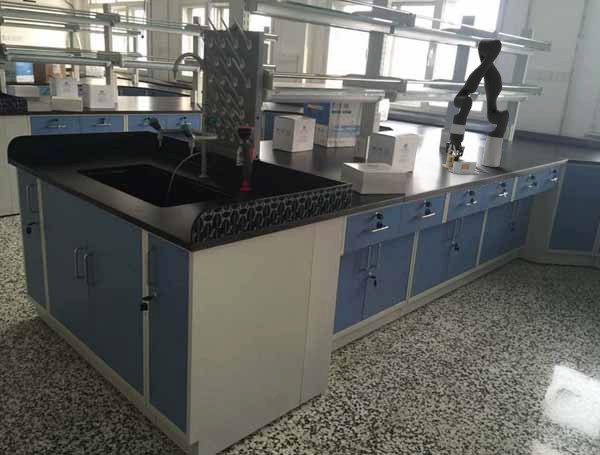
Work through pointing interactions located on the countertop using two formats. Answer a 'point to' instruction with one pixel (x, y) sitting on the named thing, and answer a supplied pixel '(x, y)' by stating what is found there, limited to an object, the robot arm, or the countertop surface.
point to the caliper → (477, 167)
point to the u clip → (452, 157)
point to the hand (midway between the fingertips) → (452, 162)
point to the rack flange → (464, 167)
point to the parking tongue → (448, 163)
